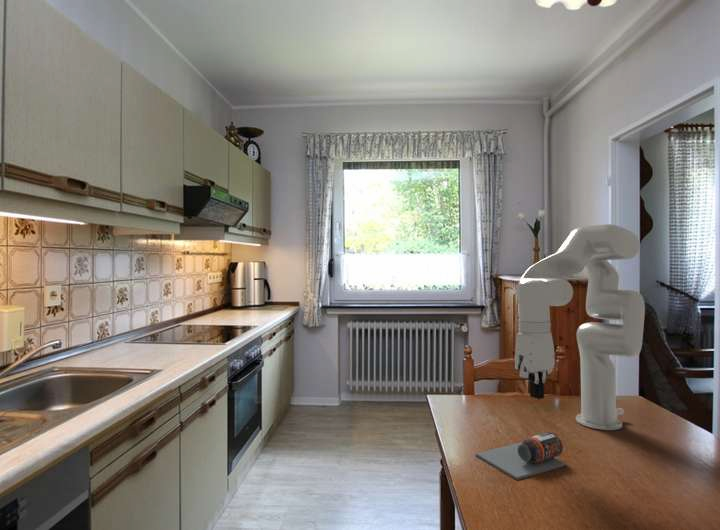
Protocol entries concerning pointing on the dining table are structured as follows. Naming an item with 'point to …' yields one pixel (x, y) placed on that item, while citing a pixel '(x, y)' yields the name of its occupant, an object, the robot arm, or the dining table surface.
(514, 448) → the mat
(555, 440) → the supplement bottle
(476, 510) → the dining table surface
